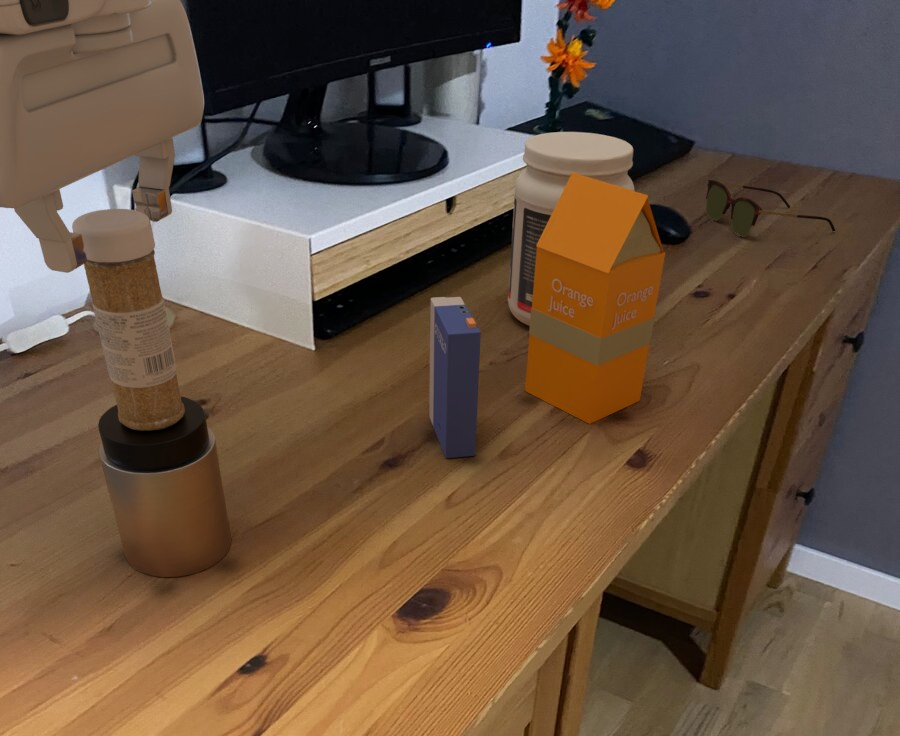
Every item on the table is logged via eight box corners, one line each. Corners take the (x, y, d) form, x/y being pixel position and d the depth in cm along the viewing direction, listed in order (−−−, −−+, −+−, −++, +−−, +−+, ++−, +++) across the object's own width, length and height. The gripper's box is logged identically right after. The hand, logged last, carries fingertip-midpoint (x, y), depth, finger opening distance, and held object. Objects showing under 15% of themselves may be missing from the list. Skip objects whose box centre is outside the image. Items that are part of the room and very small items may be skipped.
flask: (103, 565, 68) (67, 436, 61) (160, 508, 74) (132, 384, 67) (199, 587, 67) (173, 456, 60) (249, 526, 72) (231, 401, 65)
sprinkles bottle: (167, 396, 66) (130, 201, 57) (197, 421, 63) (162, 220, 55) (107, 414, 64) (58, 214, 55) (135, 441, 61) (88, 235, 52)
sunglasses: (699, 212, 137) (708, 176, 134) (781, 213, 142) (792, 179, 139) (750, 243, 127) (761, 206, 124) (838, 244, 131) (851, 207, 128)
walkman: (475, 456, 82) (481, 327, 74) (445, 459, 81) (448, 330, 73) (457, 414, 87) (461, 291, 80) (428, 416, 87) (429, 293, 79)
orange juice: (575, 369, 95) (600, 164, 83) (641, 400, 90) (678, 187, 78) (522, 391, 91) (540, 179, 79) (588, 425, 86) (618, 204, 74)
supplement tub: (638, 328, 104) (667, 154, 92) (541, 346, 100) (557, 166, 88) (579, 288, 113) (598, 125, 101) (487, 303, 108) (495, 134, 97)
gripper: (117, -54, 55) (158, 188, 64) (-145, -17, 40) (-44, 293, 49) (211, -48, 54) (240, 198, 63) (-23, -6, 39) (58, 310, 48)
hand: (114, 241), depth 56 cm, fingers open, 8 cm apart
